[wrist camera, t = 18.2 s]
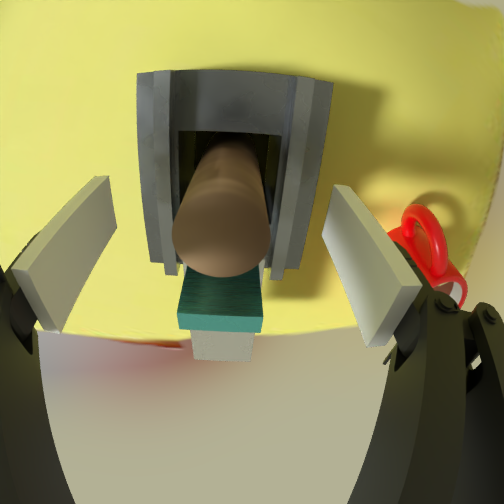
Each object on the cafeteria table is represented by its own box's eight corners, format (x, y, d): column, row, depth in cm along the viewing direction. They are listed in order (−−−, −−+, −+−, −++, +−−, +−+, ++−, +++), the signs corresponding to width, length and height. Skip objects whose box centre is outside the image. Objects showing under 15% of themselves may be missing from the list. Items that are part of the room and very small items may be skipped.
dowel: (206, 172, 21) (175, 274, 11) (207, 126, 19) (168, 191, 9) (253, 174, 21) (264, 279, 11) (257, 129, 19) (276, 196, 9)
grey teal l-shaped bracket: (195, 348, 23) (189, 404, 19) (185, 244, 17) (168, 312, 12) (249, 350, 24) (252, 407, 19) (263, 247, 17) (271, 317, 13)
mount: (168, 218, 23) (146, 273, 17) (165, 73, 16) (128, 73, 10) (286, 224, 24) (301, 280, 18) (307, 80, 17) (341, 83, 11)
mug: (432, 179, 21) (484, 223, 15) (426, 273, 28) (458, 322, 22) (359, 198, 22) (400, 252, 16) (368, 293, 29) (392, 350, 23)
